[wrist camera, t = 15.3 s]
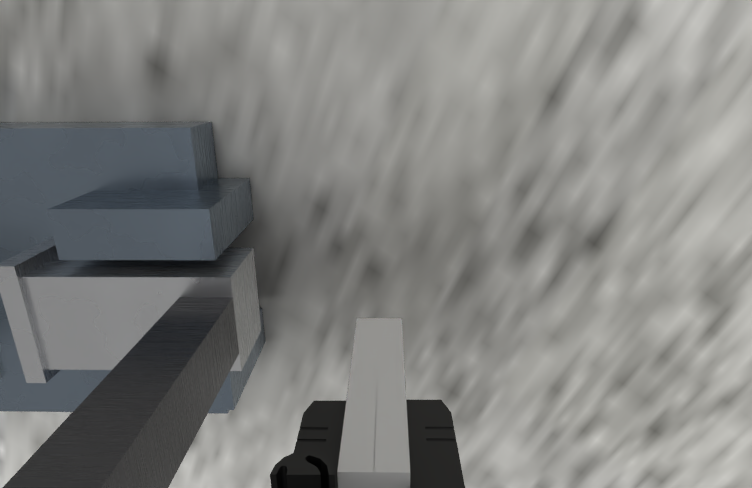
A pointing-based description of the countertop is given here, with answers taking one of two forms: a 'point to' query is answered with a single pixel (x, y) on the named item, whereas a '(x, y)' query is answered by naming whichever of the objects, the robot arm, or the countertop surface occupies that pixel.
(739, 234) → the countertop surface
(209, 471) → the countertop surface
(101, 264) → the lever
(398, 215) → the countertop surface
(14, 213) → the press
